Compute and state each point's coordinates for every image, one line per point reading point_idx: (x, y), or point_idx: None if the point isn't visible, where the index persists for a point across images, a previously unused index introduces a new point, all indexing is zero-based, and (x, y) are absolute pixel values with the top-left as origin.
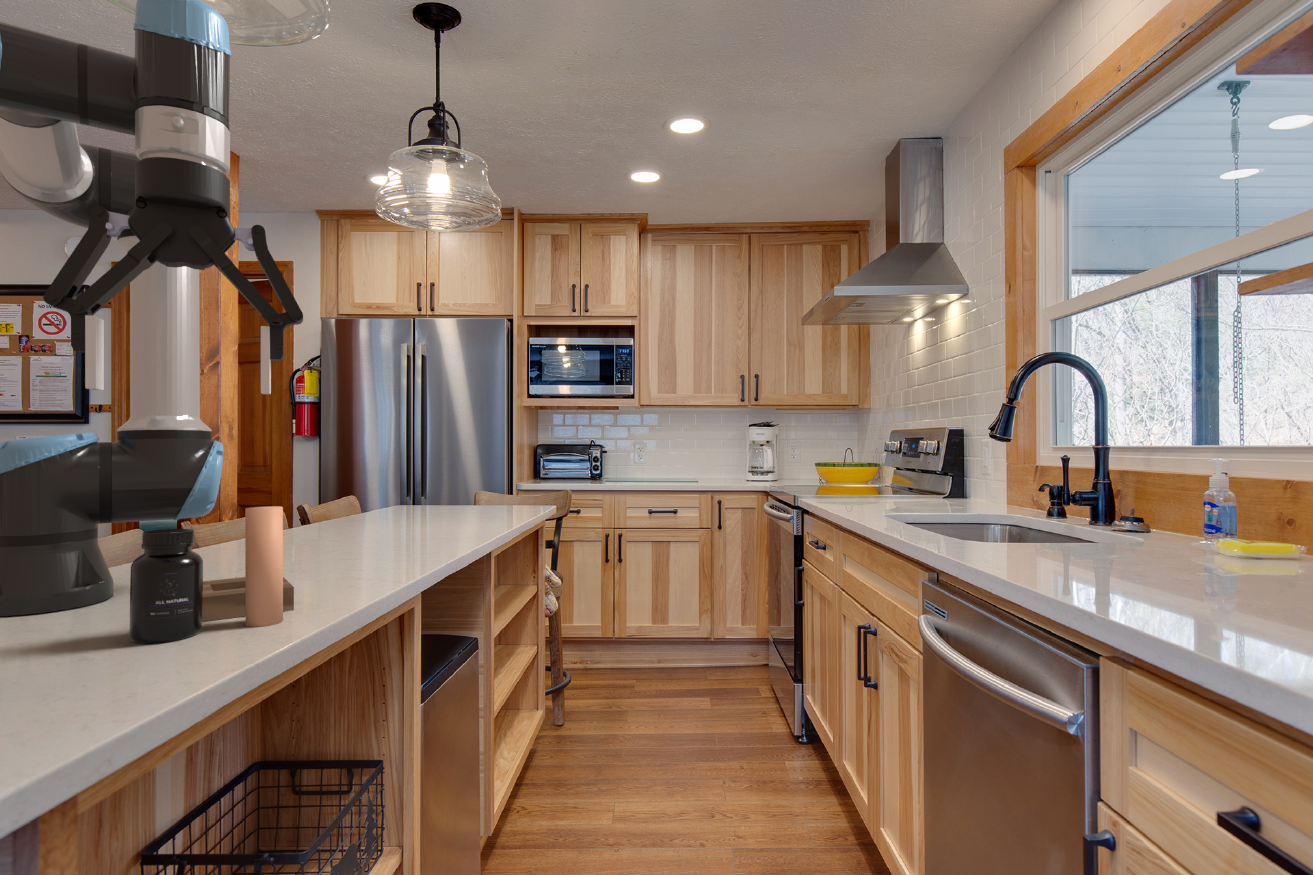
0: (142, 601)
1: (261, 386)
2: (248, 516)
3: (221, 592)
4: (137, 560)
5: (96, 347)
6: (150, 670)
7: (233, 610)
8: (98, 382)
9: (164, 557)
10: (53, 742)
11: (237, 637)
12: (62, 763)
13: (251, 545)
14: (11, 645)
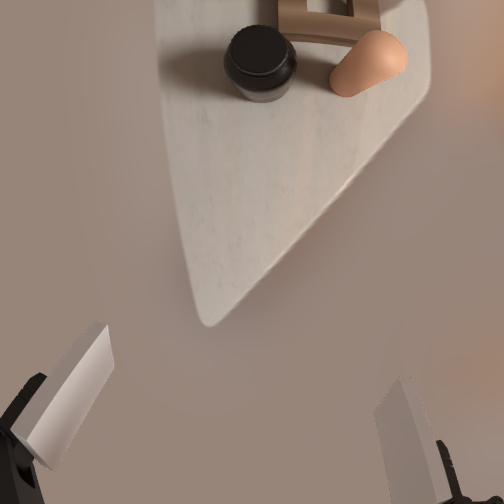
0: (239, 90)
1: (376, 421)
2: (359, 61)
3: (314, 22)
4: (228, 69)
5: (79, 419)
6: (249, 186)
7: (322, 41)
8: (107, 363)
9: (255, 81)
10: (208, 296)
11: (317, 122)
12: (216, 323)
13: (352, 74)
14: (156, 44)
